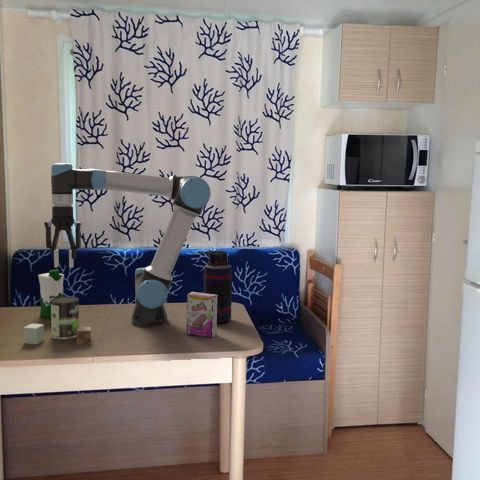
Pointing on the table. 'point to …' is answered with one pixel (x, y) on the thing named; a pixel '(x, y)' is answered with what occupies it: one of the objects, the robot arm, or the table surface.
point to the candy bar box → (201, 314)
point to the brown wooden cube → (83, 335)
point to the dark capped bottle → (219, 283)
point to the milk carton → (50, 290)
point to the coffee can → (64, 317)
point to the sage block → (34, 333)
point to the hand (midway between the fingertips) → (64, 266)
